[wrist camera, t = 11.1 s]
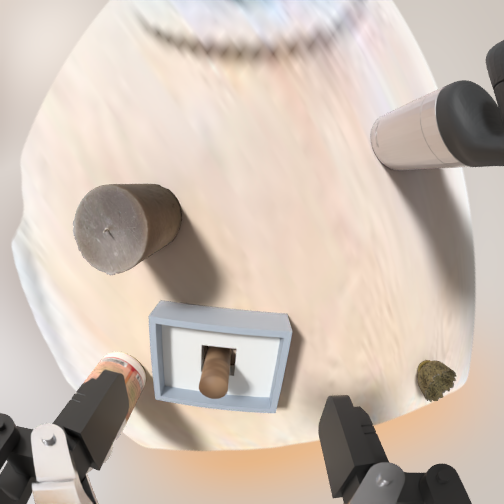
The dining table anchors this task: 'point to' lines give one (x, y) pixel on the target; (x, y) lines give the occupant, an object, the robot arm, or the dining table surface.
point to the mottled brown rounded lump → (435, 379)
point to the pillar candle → (125, 224)
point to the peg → (215, 372)
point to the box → (219, 335)
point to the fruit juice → (131, 374)
